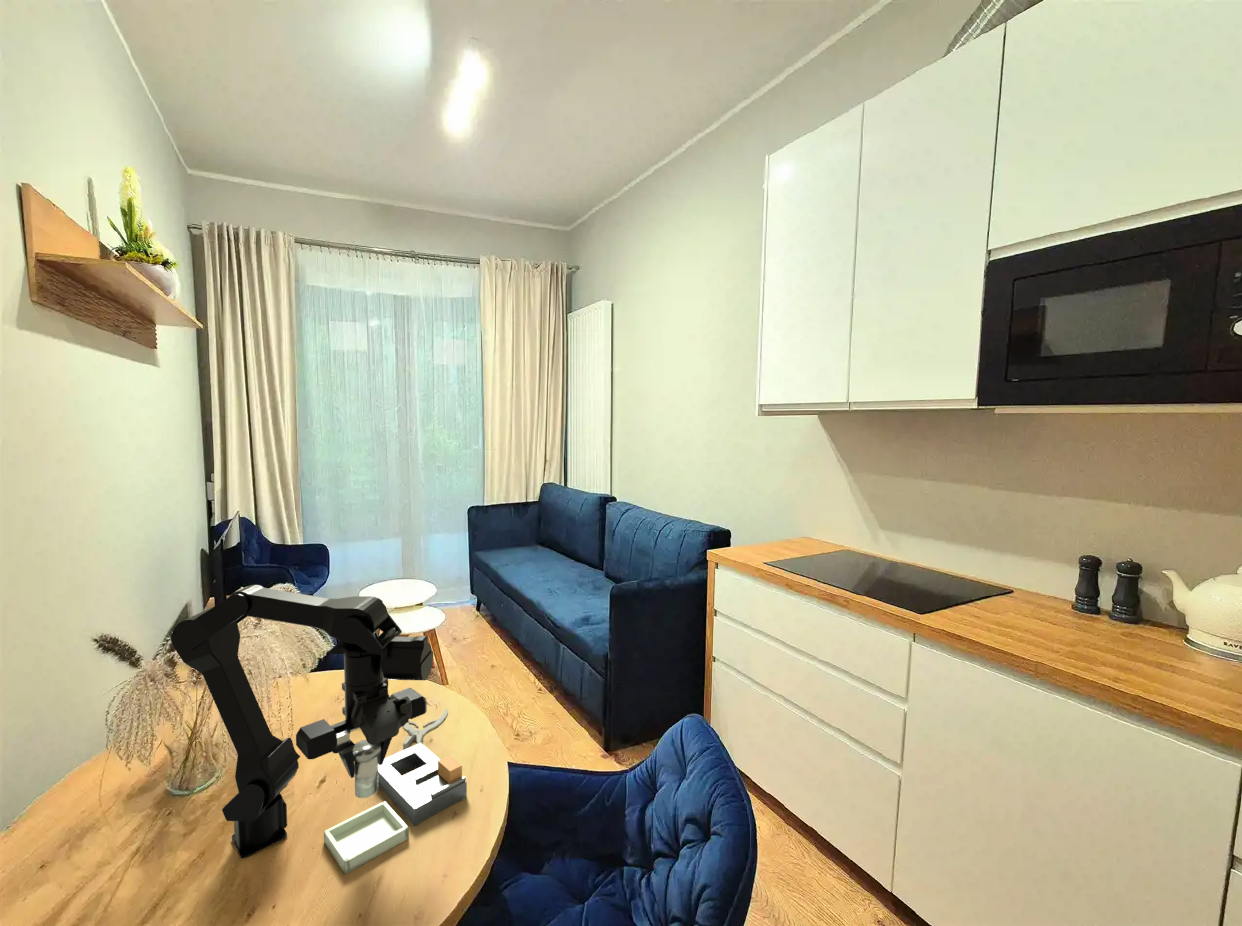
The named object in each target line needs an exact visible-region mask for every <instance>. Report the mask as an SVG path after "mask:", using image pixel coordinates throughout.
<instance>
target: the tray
mask: <svg viewBox="0 0 1242 926" xmlns="http://www.w3.org/2000/svg"><path fill="white" fill-rule="evenodd" d="M409 830H410V827H409V826H408V825H407V823H406V822H405V821H404V820H403V819H402V818H401V817H400V815H398V814H397V812H395V810H394V809H393V808H392V807H391V806H390V805H389V804H388V802H387V801H386V800H384V801H381V802H379V803H378V804H376V805H374V806H372V807H369V808H368V809H366V810H363V811H361V812H359V813H357V814H355V815H353V816H351V817H350V818H348V819H345V820H344V821H341V822H339V823H338V824H336V825H334V826H332V827H330V828H327V829H326V830H323V842H324V845H325V846H326V848H327V849H328V851H329V852H330V853H331V855H332V857H333V858H334V859H335V861H336V862H337V864H338V865H339V867H340V868H341V870H342V871H343V873H344V875H348V874H349V873H350V872H352V871H354V870H357V869H358V868H360V867H361V866H363V865H365V864H366V863H368V862H370V861H371V860H373V859H375V858H376V857H378V856H380V855H382V854H385V852H388V851H389V850H391V849H394V848H395V847H397V846H398V845H400V844H402V843H403V842H405V841H407V840H408V839H410V833H409V832H410V831H409Z"/></svg>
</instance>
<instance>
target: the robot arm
mask: <svg viewBox="0 0 1242 926" xmlns="http://www.w3.org/2000/svg"><path fill="white" fill-rule="evenodd" d="M248 617H250V618H256V619H262V620H268V621H273V622H274V621H276V622H281V623H286V624H290V625H291V624H292V625H296V626H298V625H299V626H304V627H310V628H315V629H319V630H320V631H321V630H322V631H324V633H325V634H327V635H328V636H329V637H330V638H332V639H336V640H338V642H337V643H336V644H335V645H334V646H333V647H332V648H331V649H329V655H343V661H344V662H343V666H344V667H343V673H344V675H343V676H344V677H343V679H344V682H341V690H342V691H343V692H344V706H343V707H342V709H341V710H342V711H341V712H342V715H343V716H344V717H345V718H344V720H342V721H340V722H337V723H335V724H331V725H330V724H329V723H328V721H327V720H325V718H324V719H320V720H317V721H314V722H312V723H309V724H307V725H304V726H301V727H299V728H298V731H297V733H296V734H295V746H296V747H297V748H298V750H300V752H301V753H302V754H303V755H304V756H305V758H306V759H307V760H315V759H317V758H321V757H323V756H325V755H327V754H329V753H332V754H338V755H339V758H340V759H341V762H342V764H343V766H344V767H345V770H346V772H347V774H348V776H349V777H350V778H351V779H353V778H355V775H354V773H355V767H354V758H353V748H354V746H355V744H356V743H354V742H353V741H352V740H351V733H352V732H354V731H357V730H361V732H362V734H363V736H364V737H365V740H367V742H368V743H369V744H371V745H375V744H378V743H380V742H381V752H380V754H379V755H378V764H379V765H382V764H383V761H384V759H385V758H386V757H387V756H386V755H387V752H388V751H389V747H390V744H391V742H392V739H393V738H395V737H397V736H398V734H399V733H400V729H401V728H403V726H404V725H405V724H406V723H408V722H409V721H410V720H413V719H415V718H418V717H420V716H422V715H425V714H426V713H427V710H428V708H427V707H428V706H427V705H428V704H427V703H428V702H427V700H426V697H425V696H423V695H422V694H420V693H419V692H418V691H416V690H415V689H413V688H411V687H409V688H408V687H407V688H405V689H403V690H399V691H397V692H394V693H392V694H391V695H389V687H388V688H387V684H385V683H384V678H388V681H427V680H428V679H429V676H430V674H431V673H432V672H431V671H432V667H433V664H434V663H433V662H434V650H433V649H432V646H431V643H430V642H429V636H428V635H418V636H417V635H416V636H401V634H402V632H403V631H402V629H401V628H400V627H399V625H398V624H397V623H396V622H395V621H394V619H393V618H392V616H391V615H390V614H389V612H388V610H387V606H386V605H385V603H384V601H383V600H382V599H381V598H379V597H376V596H372V595H371V596H368V595H367V596H364V595H363V596H362V595H361V596H360V595H359V596H348V597H342V598H327V597H321V596H316V595H309V594H305V593H304V594H303V593H299V592H291V591H285V590H278V589H274V588H267V587H264V586H262V585H261V584H260V585H259V584H250V585H248V586H245V587H243V588H241V589H238V590H237V591H234V592H232V593H231V594H230V595H229V596H228V597H226V598H225V599H224V600H222V601H221V602H220V603H218V604H217V605H215V606H213V607H210V608H209V607H208V608H207V609H205V610H203V611H201V612H199V613H197V614H195V615H193V616H190V617H188V618H186V619H184V620H182V621H180V622H178V623H177V625H176V626H174V628H173V630H172V633H170V641H171V645H172V647H173V649H174V650H175V652H176V653H177V654H178V656H179V658H180V659H181V660H182V662H183V663H184V664H185V665H187V666H188V667H190V668H192V669H194V670H195V671H197V672H199V673H200V674H201V675H202V677H203V679H204V681H205V684H206V686H207V688H208V691H209V693H210V694H211V697H212V700H213V703H214V704H215V707H216V708H217V711H218V713H219V715H220V718H221V720H222V722H223V725H224V727H225V730H226V731H227V733H228V736H229V738H230V740H231V742H232V745H233V747H234V749H235V752H236V756H237V757H236V758H237V759H236V766H235V773H234V774H235V775H234V779H235V783H236V788H237V790H238V793H236V795H234V797H232V799H230V800H229V801H228V802H227V804H225V805H224V806H223V808H222V809H221V812H222V814H223V815H224V819H225V821H226V822H233V829H234V830H233V831H234V833H233V834H232V835H231V840H232V843H233V845H234V846H235V847H234V848H235V849H236V852H237V853H238V856H239V858H240V859H246V858H247V857H250V856H252V855H254V854H257V853H258V852H260V851H262V850H265V849H266V848H268V847H271V846H273V845H275V844H277V843H280V841H283V840H285V839H286V838H288V832H287V831H286V829H285V828H287V827H288V810H287V808H288V807H287V806H288V805H287V802H286V801H285V799H284V798H283V796H282V794H281V792H282V791H283V790H284V789H286V787H287V786H288V785H289V783H290V782H291V781H292V779H294V777H295V776H296V774H297V772H298V770H299V768H300V767H299V764H300V763H299V761H298V760H299V759H300V758H301V755H300V754H299V753H298V752H297V751H296V749H295V747H294V742H293V740H292V738H291V737H287V738H285V739H283V740H282V739H281V738H278V737H277V736H276V735H273V733H272V731H271V729H270V727H269V725H268V723H267V721H266V719H265V717H264V713H263V712H262V709H261V707H260V705H259V702H258V700H257V697H256V695H255V693H254V691H253V688H252V686H251V684H250V682H249V679H248V677H247V675H246V673H245V670H244V667H243V666H242V664H241V661H240V658H239V649H240V648H239V647H240V642H241V641H240V640H241V633H240V629H239V625H238V624H239V623H240V622H242V621H243V620H244V619H246V618H248ZM379 630H380V631H381V632H382V633H380V635H378V636H377V637H376V636H375V634H376V633H377V632H378V631H379Z"/></svg>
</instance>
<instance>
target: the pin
mask: <svg viewBox="0 0 1242 926" xmlns="http://www.w3.org/2000/svg"><path fill="white" fill-rule="evenodd" d="M354 744H355V746H354V748H353V758H354V767H355V773H354V795H355V797H357V798H358V799H366V798H369V797H372V796H374V795H375V794H376V793H377V792H378V791H379V787H378V755H379V754H380V752H381V742H380V743H378V744H375V745H371V744H369V743H368V742H367V740H366V739H363V740H360V741H357V742H355V743H354Z"/></svg>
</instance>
